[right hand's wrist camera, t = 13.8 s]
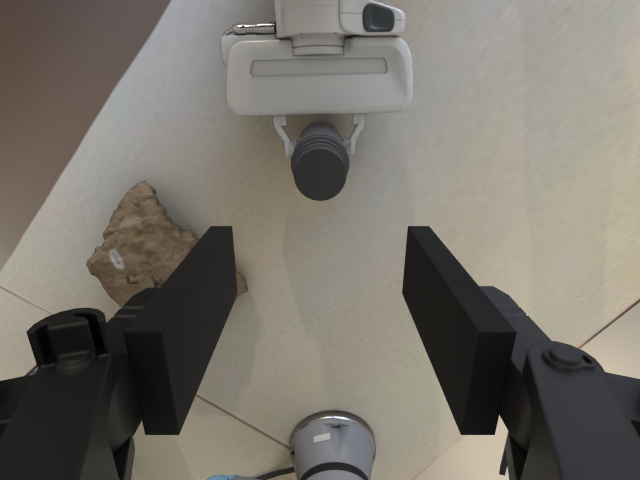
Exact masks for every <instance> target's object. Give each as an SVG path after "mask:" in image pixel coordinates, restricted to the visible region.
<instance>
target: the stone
mask: <svg viewBox="0 0 640 480" xmlns="http://www.w3.org/2000/svg"><path fill="white" fill-rule="evenodd" d="M155 194H156V191H155V189H154V188H153V187H152V186H150V185H149V184H148V183H147V182H145V181H143V182H140V183H138V184H136V185H135V186H134V187H133V188H131V189H130V190H129V191H128V192H127V193H126V195H125V196H124V197H123V199H122V200H121V202H120V203H119V205H118V208H117V209H116V210H115V211H114V212H113V215H112V217H111V219H110V224H109V225H108V227H107V229H106V230H105V231H104V233H103V237H104V239H105V242H104V243H103V245H102V246H101V247H96V248H95V252H94V254H93V255H92V256H91V258H89V259H88V261H87V264H86V265H87V267H88V269H89V271H90V273H91V275H95V276H96V277H97V278H99V280H100V282H101V283H102V286H103V288H104V289H105V290H106V292H107V293H108V295H109V296H110V297H111V298H112V299H113V300H114V301H115V302H116V303H117V304H119V305H120V306H121V307H122V306H123V305H124V304H125V303H126V302H127V301H128V300H129V299H130V298H131V297H132V296H133V295H135V294H137V293H139V292H140V291H142V290H144V289H146V288H160V287H161V286H162V285H163V283H164V282H165V281H166V280H167V279H168V277H169V276H170V275H171V274H172V273H173V271H174V270H175V269H176V268H177V267H178V265H179V264H180V263H181V262H182V261H183V259H184V258H185V257H186V256H187V255H188V253H189V252H190V251H191V250H192V249H193V247H194V246H195V245H196V244H197V243H198V241H199V239H198V238H197V237H196V235H195V234H194V232H192V231H191V230H187V231H183V230H182V228H181V227H180V226H178V225H176V224H175V223H173V222H172V221H171V219H170V217H169V216H168V215H167V214H166V209H165V208H164V206H163V205H162V204H161V203H159V201H158V198H157V196H156V195H155ZM236 278H237V290H238V294H237V296H236V298H237V297H238V296H239V295H240V294H241V293H245V292H246V291H248V288H247V285H246V280H245V278H244V277H243V276H242V275H241V274H240V273H238V272H237V271H236Z"/></svg>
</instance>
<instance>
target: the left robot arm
mask: <svg viewBox="0 0 640 480" xmlns="http://www.w3.org/2000/svg"><path fill="white" fill-rule="evenodd" d="M274 3H275V20H276V21H275V22H269V23H258V24H257V23H256V24H245V23H238V24H234V25H233V28H230V29H228V30H227V31H225V33H224V34H223V36H222V38H221V54H222V60H223V63H224V65H225V66H226V67H227V76H226V96H227V107H228V109H229V110H230V111H231V112H232V113H233V114H234V115H235V116H269V115H273V120H274V127H275V129H276V130H277V132H278V134H279V135H280V137H281V138H282V140H283V141H284V142H285V156H286V157H292V154H293V151H294V149H295V147H296V145H297V142H298V140H291V138H290V137H289V135H288V133H287V132H286V130H285V128H284V126H286V125H287V124H288V122H287V115H314V114H352V123H353V124H356V125H355V127H354V129H353V131H352V133H351V134H350V136H349V139H342V142H343V144H344V146H345V148H346V151H347V153H348V156H350V155H351V156H352V155H355V140H357V138H358V136H359V134H360V133H361V131H362V129H363V127H364V126H365V115H366V113H403V112H405V111H406V110H407V109H408V108H409V107H410V105H411V104H412V99H413V71H412V60H411V53H410V50H409V47H408V45H407V44H406V42H405V41H404V40H402V39H401V38H399V36H400V35H401V34H402V33H403V31H404V28H405V14H404V12H403V11H401V10H400V9H397V8H394V7H391V6H388V5H385V4H382V3H379V2H376V1H374V0H274ZM232 32H233V33H234V35H229V34H230V33H232ZM275 33H276V35H275ZM249 34H255V35H249ZM276 38H277V40H276Z"/></svg>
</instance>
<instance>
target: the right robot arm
mask: <svg viewBox="0 0 640 480" xmlns="http://www.w3.org/2000/svg"><path fill="white" fill-rule="evenodd" d="M237 294H238V290H237V278H236V267H235V255H234V244H233V232H232V226H211V227H210V228H209V229H208V230H207V232H206V233H205V234H204V235H203V237H202V238H201V239H200V240H199V241H198V243H197V244H196V245H195V246H194V247H193V249H192V250H191V251H190V252H189V253H188V255H187V256H186V257H185V258H184V259H183V261H182V262H181V263H180V264H179V265H178V267H177V268H176V269H175V270H174V271H173V273H172V274H171V275H170V276H169V277H168V279H167V280H166V281H165V282H164V283H163V285H162V286H161V287H160V288H146V289H144V290H142V291H140V292H139V293H137V294H135V295H133V296H132V297H131V298H130V299H129V300H128V301H127V302H126V303H125V304H124V305H123V306H122V309H120V310H119V311H118V312H117V313H116V314H115V315H114V317H112V318H111V319H110V320H109V321H108V322H107V323H106V319H105V315H104V313H103V312H101V311H100V310H98V309H92V308H78V309H71V310H67V311H62V312H59V313H56V314H54V315H51V316H48V317H46V318H44V319H43V320H41V321H39V322H37V323H36V324H34V325H33V326H32V327H31V328H30V329H29V330H28V331H27V335H28V338H29V341H30V344H31V348H32V351H33V354H34V357H35V360H36V363H37V366H38V369H37V370H36V372H35V374H33V375H28V376H23V377H18V378H13V379H8V380H3V381H0V480H131V474H132V466H133V459H134V452H135V446H134V439H133V435H132V431H133V429H134V427H135V426H136V424H137V422H138V420H139V419H140V417H142V422H143V426H144V431H145V435H179V434H180V431H181V429H182V426H183V424H184V422H185V419H186V417H187V414H188V412H189V409H190V407H191V405H192V402H193V400H194V397H195V395H196V393H197V390H198V388H199V385H200V383H201V381H202V378H203V376H204V373H205V371H206V369H207V366H208V364H209V361H210V359H211V356H212V354H213V352H214V349H215V347H216V344H217V342H218V340H219V337H220V335H221V332H222V330H223V328H224V325H225V323H226V320H227V318H228V316H229V313H230V311H231V308H232V306H233V303H234V301H235V299H236V296H237ZM402 294H403V296H404V299H405V301H406V303H407V306H408V308H409V311H410V313H411V316H412V318H413V320H414V323H415V325H416V328H417V330H418V332H419V335H420V337H421V340H422V342H423V344H424V347H425V349H426V352H427V354H428V356H429V359H430V361H431V364H432V366H433V369H434V371H435V373H436V376H437V378H438V381H439V383H440V385H441V388H442V390H443V393H444V395H445V397H446V400H447V402H448V405H449V407H450V409H451V412H452V414H453V417H454V419H455V422H456V424H457V426H458V429H459V431H460V434H461V435H495V431H496V426H497V422H498V417H499V415H500V417H501V418H502V420H503V422H504V424H505V425H506V427H507V429H508V435H507V439H506V444H505V448H504V453H503V457H502V461H501V465H500V472H499V474H501V475H505V472H506V468H507V466H508V473H509V480H640V379H636V378H631V377H626V376H621V375H616V374H611V373H607V372H604V370H603V368H602V366H601V365H600V364H599V363H598V362H597V361H596V359H595V358H593V357H592V356H590V355H589V354H587V353H586V352H584V351H582V350H580V349H578V348H576V347H573V346H571V345H568V344H564V343H560V342H556V341H551V340H550V339H549V338H548V337H547V335H546V334H545V333H544V332H543V331H542V330H541V329H540V328H539V327H538V326H537V325H536V324H535V323H534V322H533V321H532V320H531V318H530V317H529V316H526V313H525V312H524V311H523V310H522V309H521V308H520V307H518V305H517V304H516V303H515V302H514V300H513V299H512V298H511V297H510V296H509V295H507V294H506V293H504V292H502V291H500V290H499V289H497V288H495V287H493V286H478V285H477V283H476V282H475V281H474V280H473V279H472V277H471V276H470V275H469V274H468V273H467V271H466V270H465V269H464V268H463V267H462V265H461V264H460V263H459V262H458V261H457V259H456V258H455V257H454V256H453V255H452V253H451V252H450V251H449V250H448V249H447V247H446V246H445V245H444V244H443V243H442V241H441V240H440V239H439V238H438V237H437V235H436V234H435V233H434V232H433V231H432V229H431V228H430V227H429V226H408V232H407V244H406V255H405V267H404V278H403V290H402ZM375 454H376V446H375V439H374V435H373V432H372V430H371V428H370V427H369V426H368V424H367V423H366V422H365V421H363V420H362V419H361V418H359V417H357V416H355V415H353V414H350V413H347V412H342V411H324V412H319V413H316V414H313V415H311V416H309V417H307V418H305V419H304V420H303V421H301V422H300V423H299V424H298V425H297V426H296V428H295V429H294V431H293V433H292V436H291V443H290V456H291V459H292V463H293V466H294V467H291V468H287V469H282V470H278V471H275V472H272V473H269V474H266V475H263V476H260V477H258V478H255V479H254V478H248V477H242V476H239V475H232V476H228V475H213V476H211V477H209V478H208V479H207V480H267V479H270V478H273V477H276V476H279V475H283V474H288V473H292V472H295V474H296V477H297V480H370V477H371V471H372V464H373V462H374V459H375Z"/></svg>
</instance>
